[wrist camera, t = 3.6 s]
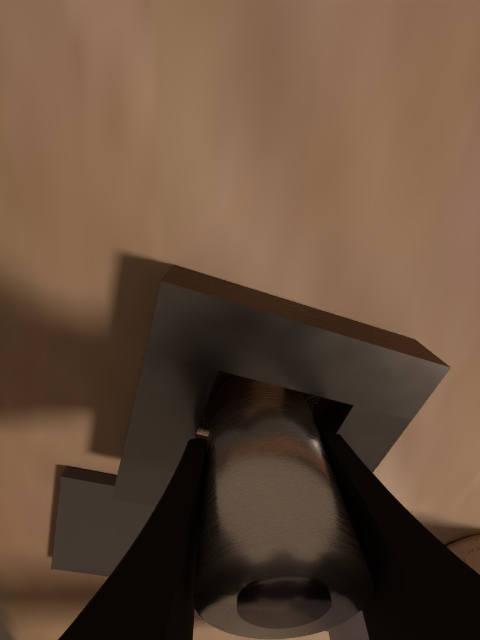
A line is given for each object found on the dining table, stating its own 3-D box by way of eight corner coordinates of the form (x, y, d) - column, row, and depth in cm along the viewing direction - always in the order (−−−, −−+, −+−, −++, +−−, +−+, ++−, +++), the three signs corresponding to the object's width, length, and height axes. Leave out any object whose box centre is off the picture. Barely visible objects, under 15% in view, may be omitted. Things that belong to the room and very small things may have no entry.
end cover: (310, 367, 13) (394, 551, 6) (301, 442, 15) (359, 643, 8) (208, 369, 13) (185, 557, 6) (213, 444, 14) (198, 650, 8)
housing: (415, 340, 13) (450, 367, 11) (314, 495, 17) (325, 536, 15) (173, 265, 11) (160, 281, 9) (127, 458, 15) (112, 499, 13)
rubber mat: (226, 496, 17) (226, 506, 16) (189, 576, 20) (187, 586, 19) (67, 466, 15) (61, 476, 15) (56, 557, 19) (50, 568, 18)
